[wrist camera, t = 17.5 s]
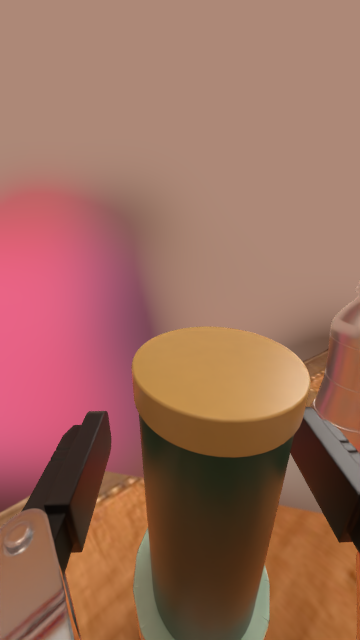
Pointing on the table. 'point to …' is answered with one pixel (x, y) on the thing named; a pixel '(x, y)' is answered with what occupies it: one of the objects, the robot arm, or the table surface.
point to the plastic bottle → (343, 374)
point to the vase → (148, 618)
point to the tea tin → (214, 469)
